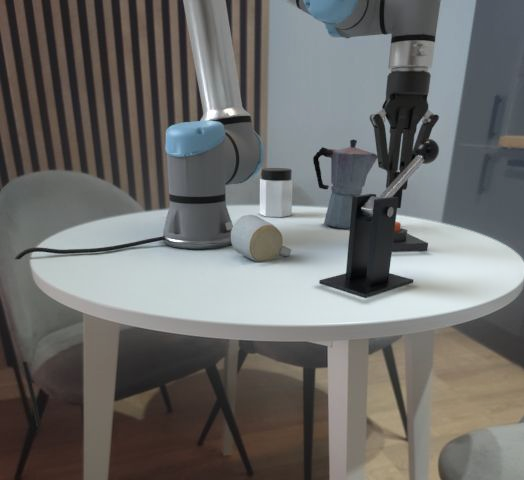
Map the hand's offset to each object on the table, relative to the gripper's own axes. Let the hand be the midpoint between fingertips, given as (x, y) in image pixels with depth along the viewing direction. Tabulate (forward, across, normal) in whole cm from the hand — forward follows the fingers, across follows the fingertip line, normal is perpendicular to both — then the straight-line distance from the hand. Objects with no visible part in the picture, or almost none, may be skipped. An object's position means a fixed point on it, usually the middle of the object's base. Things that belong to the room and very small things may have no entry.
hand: (394, 206), depth 99 cm
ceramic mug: (+9, -27, -4) cm, 29 cm away
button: (+5, 0, 0) cm, 5 cm away
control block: (+9, 0, 0) cm, 9 cm away
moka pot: (+9, -2, +25) cm, 27 cm away
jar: (+8, -15, +43) cm, 46 cm away
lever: (-6, -8, -20) cm, 23 cm away
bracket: (+9, -14, -24) cm, 29 cm away
